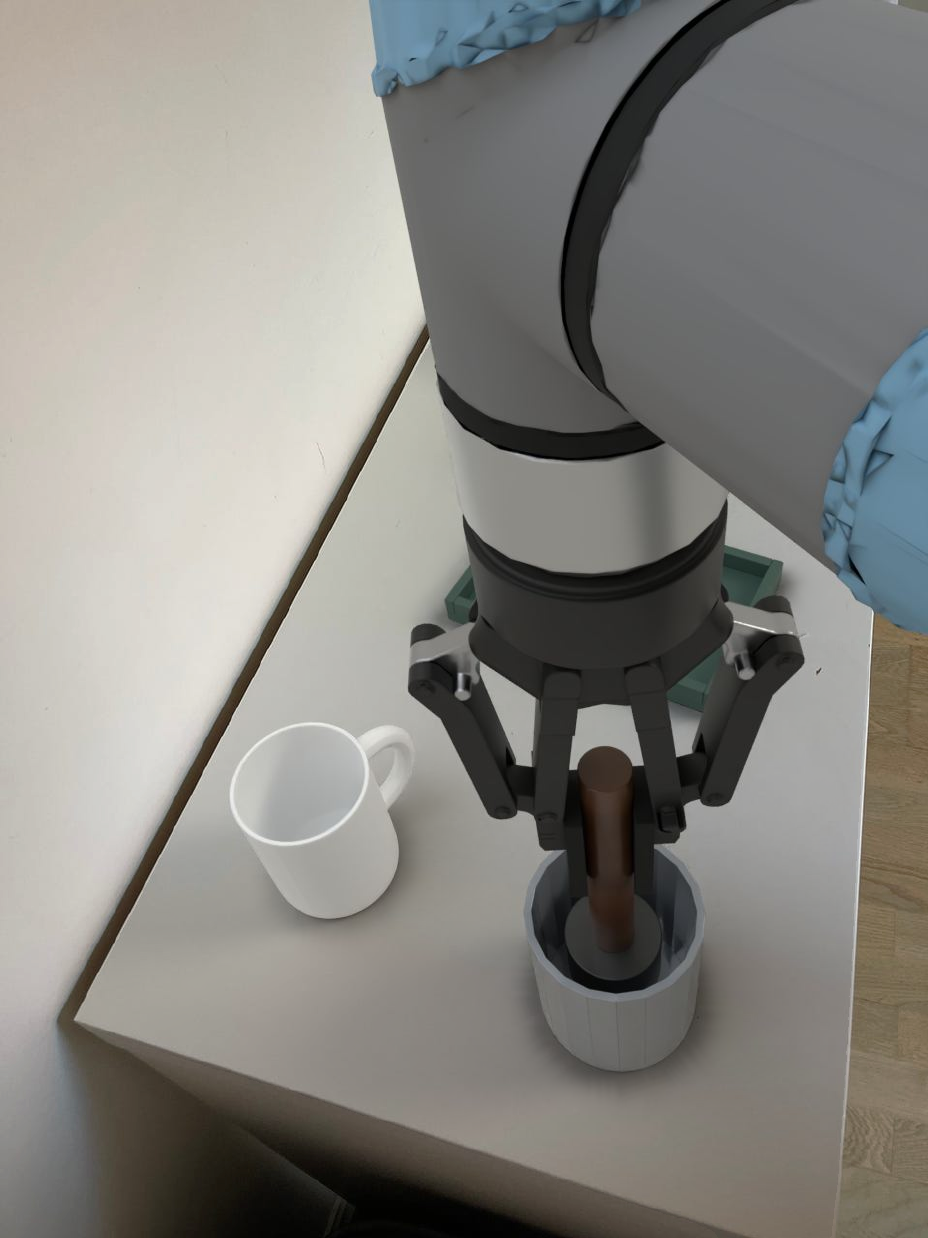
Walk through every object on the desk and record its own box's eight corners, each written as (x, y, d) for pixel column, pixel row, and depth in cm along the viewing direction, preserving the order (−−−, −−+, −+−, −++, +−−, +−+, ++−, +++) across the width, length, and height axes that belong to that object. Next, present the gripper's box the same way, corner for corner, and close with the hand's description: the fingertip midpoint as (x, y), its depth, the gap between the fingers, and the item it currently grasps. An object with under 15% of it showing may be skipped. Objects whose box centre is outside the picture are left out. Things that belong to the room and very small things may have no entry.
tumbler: (718, 960, 58) (731, 874, 49) (657, 1103, 53) (660, 1035, 45) (582, 895, 61) (573, 805, 53) (514, 1023, 57) (492, 948, 49)
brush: (675, 943, 55) (689, 743, 39) (637, 1025, 52) (637, 846, 37) (592, 903, 57) (576, 700, 42) (552, 981, 54) (519, 794, 39)
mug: (385, 750, 70) (354, 661, 63) (467, 818, 66) (444, 731, 58) (253, 868, 66) (201, 787, 58) (332, 950, 61) (287, 874, 54)
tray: (780, 582, 75) (783, 561, 74) (712, 716, 69) (714, 696, 67) (530, 507, 84) (527, 486, 83) (448, 618, 78) (443, 599, 76)
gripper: (840, 379, 30) (764, 786, 47) (339, 429, 31) (447, 805, 49) (910, 563, 25) (796, 940, 42) (313, 611, 26) (444, 954, 44)
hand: (609, 867), depth 46 cm, fingers closed on brush, 2 cm apart
